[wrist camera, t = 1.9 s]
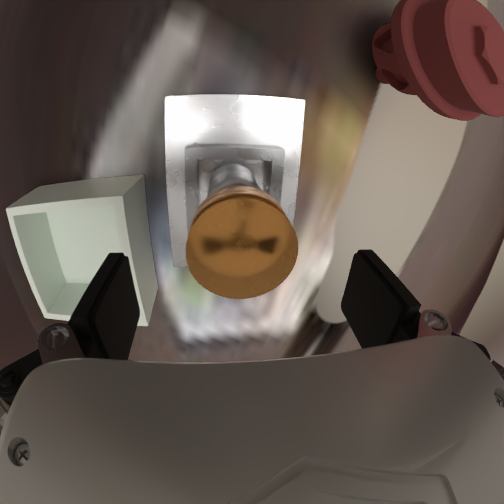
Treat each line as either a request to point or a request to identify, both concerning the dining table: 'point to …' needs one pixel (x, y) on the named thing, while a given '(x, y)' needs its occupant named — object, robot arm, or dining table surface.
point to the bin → (83, 239)
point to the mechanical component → (444, 56)
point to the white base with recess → (228, 151)
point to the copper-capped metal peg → (240, 237)
